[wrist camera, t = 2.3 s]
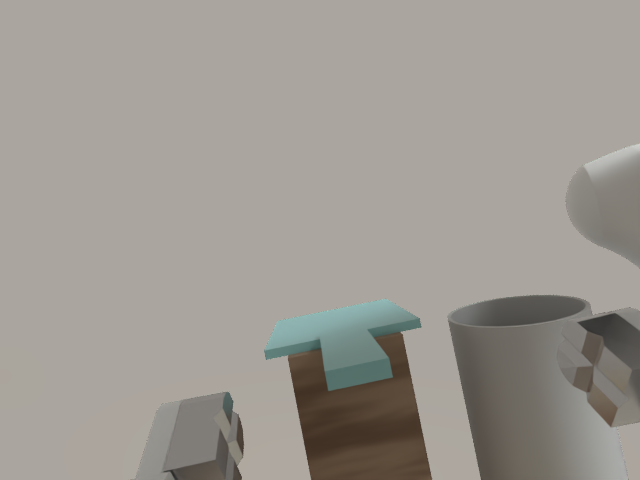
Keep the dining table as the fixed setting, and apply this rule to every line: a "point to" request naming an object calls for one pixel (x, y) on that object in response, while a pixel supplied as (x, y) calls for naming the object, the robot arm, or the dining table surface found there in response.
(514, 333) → the cylinder vase
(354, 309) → the teal flat board
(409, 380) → the pedestal
